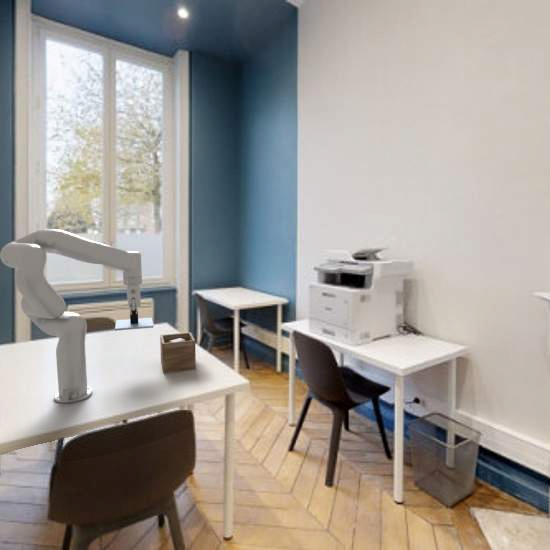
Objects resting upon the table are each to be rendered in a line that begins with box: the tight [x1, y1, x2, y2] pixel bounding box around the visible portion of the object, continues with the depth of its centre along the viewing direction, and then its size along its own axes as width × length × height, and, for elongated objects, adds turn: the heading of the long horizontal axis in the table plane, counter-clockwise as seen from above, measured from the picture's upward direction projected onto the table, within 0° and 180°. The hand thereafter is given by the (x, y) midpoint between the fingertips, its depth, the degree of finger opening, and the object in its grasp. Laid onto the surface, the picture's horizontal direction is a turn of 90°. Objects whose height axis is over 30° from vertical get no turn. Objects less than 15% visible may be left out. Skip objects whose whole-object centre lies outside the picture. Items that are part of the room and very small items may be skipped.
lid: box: [114, 308, 154, 331], centre depth 169 cm, size 15×15×6 cm
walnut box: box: [159, 332, 197, 374], centre depth 177 cm, size 14×14×13 cm
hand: (134, 322), depth 169 cm, fingers closed on lid, 3 cm apart
